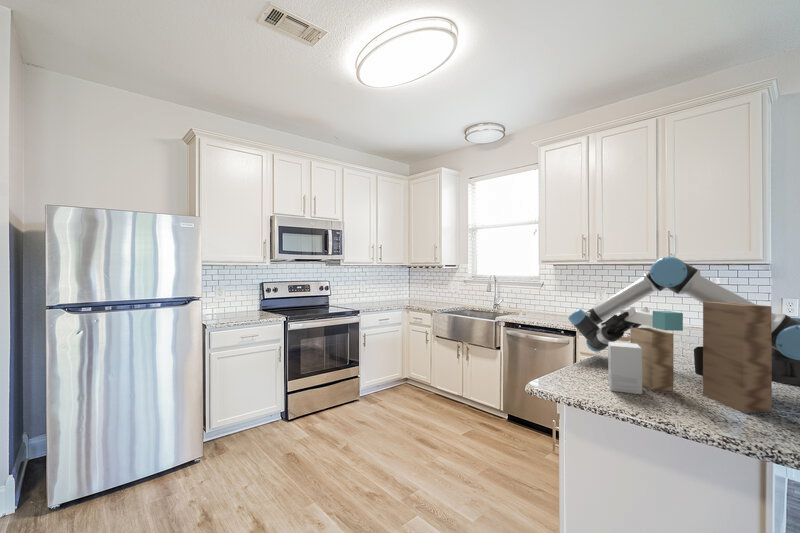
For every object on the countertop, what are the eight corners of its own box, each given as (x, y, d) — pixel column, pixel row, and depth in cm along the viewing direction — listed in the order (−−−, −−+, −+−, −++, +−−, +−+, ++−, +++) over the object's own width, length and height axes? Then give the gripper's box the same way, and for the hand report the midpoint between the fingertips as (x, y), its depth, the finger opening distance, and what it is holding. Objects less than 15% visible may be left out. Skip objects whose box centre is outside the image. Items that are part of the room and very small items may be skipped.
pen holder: (687, 371, 146) (687, 346, 147) (710, 371, 147) (710, 346, 147) (708, 378, 137) (708, 351, 137) (732, 378, 137) (732, 351, 138)
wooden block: (649, 380, 134) (649, 327, 134) (673, 390, 122) (673, 333, 122) (630, 379, 134) (630, 327, 134) (652, 390, 122) (652, 333, 122)
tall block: (728, 395, 117) (728, 302, 118) (771, 412, 103) (771, 306, 104) (703, 395, 118) (703, 301, 118) (742, 411, 104) (742, 305, 104)
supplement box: (638, 387, 125) (638, 343, 125) (642, 395, 117) (642, 348, 117) (607, 383, 129) (607, 340, 129) (610, 390, 121) (610, 345, 121)
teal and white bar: (618, 319, 143) (618, 305, 143) (633, 319, 143) (633, 305, 143) (664, 330, 117) (665, 312, 117) (682, 330, 117) (682, 313, 117)
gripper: (633, 341, 152) (668, 320, 132) (591, 341, 152) (620, 319, 132) (628, 324, 156) (661, 301, 135) (587, 324, 156) (614, 300, 136)
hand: (640, 310), depth 134 cm, fingers closed on teal and white bar, 4 cm apart
